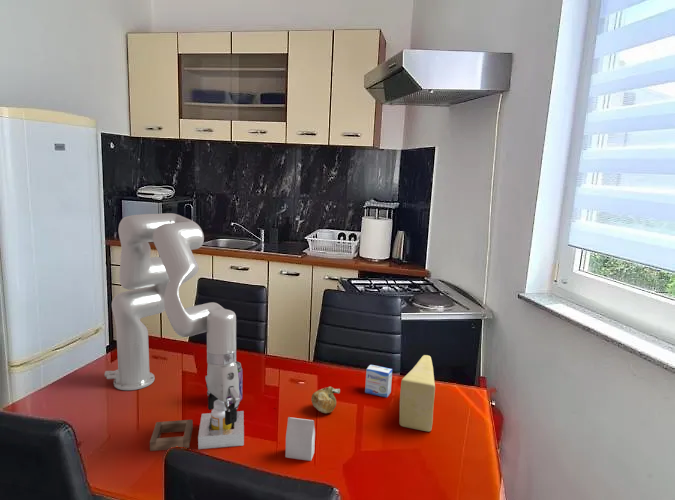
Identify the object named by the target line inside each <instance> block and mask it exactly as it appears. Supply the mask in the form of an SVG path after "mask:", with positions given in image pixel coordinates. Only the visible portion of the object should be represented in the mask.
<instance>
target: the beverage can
mask: <svg viewBox="0 0 675 500" xmlns="http://www.w3.org/2000/svg"><path fill="white" fill-rule="evenodd" d="M235 363H236V365H237V370H238V378H239V398H240V402H241V401H242V400H243V381H244V380H243V377H244V376H243V368H242V367H243V366H242V363H241V362H239V361H237V360H236V362H235ZM228 398H231V395H230V396H228V397H227V398H226V399H228ZM231 404H232V400H231V401H229V406H230V405H231Z"/></svg>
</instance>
